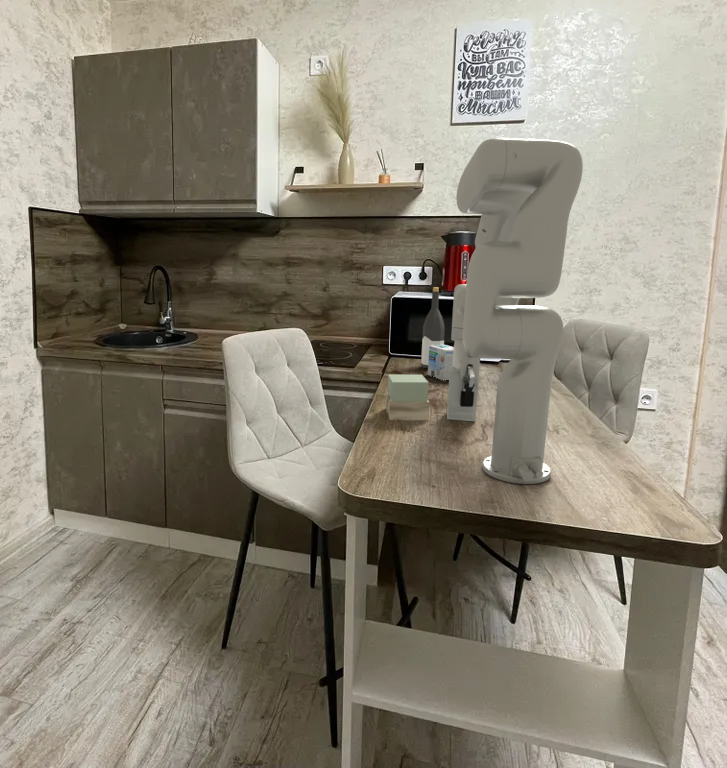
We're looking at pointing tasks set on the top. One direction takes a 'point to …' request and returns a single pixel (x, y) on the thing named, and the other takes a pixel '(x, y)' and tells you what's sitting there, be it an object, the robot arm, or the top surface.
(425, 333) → the wine bottle
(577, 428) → the top surface
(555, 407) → the top surface
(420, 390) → the tower top
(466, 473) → the top surface
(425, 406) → the tower base
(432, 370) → the light bulb box
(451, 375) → the supplement box
